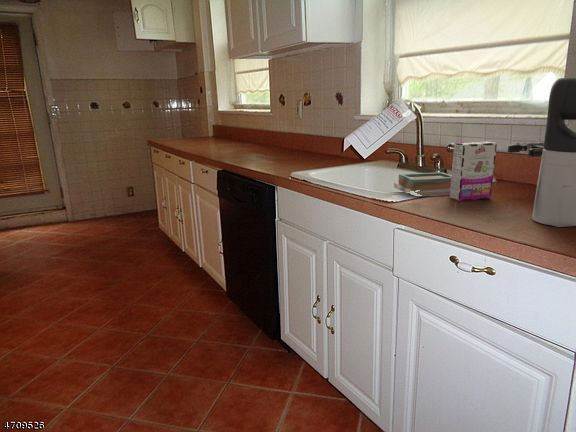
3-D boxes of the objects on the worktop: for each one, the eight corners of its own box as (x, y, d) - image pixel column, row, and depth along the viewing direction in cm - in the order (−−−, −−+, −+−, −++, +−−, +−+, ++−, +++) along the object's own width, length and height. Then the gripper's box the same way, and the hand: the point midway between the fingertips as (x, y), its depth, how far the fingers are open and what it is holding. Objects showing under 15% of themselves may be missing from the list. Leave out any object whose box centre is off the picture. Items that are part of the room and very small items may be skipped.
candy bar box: (479, 195, 130) (486, 141, 126) (491, 198, 126) (498, 142, 121) (447, 197, 127) (453, 142, 123) (458, 201, 123) (464, 144, 118)
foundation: (462, 194, 132) (464, 178, 130) (414, 196, 128) (416, 181, 127) (437, 185, 145) (439, 171, 143) (394, 187, 141) (395, 173, 140)
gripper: (548, 133, 135) (503, 135, 132) (588, 138, 122) (539, 140, 118) (545, 157, 137) (500, 159, 134) (583, 164, 124) (535, 167, 120)
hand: (518, 150), depth 126 cm, fingers open, 8 cm apart
